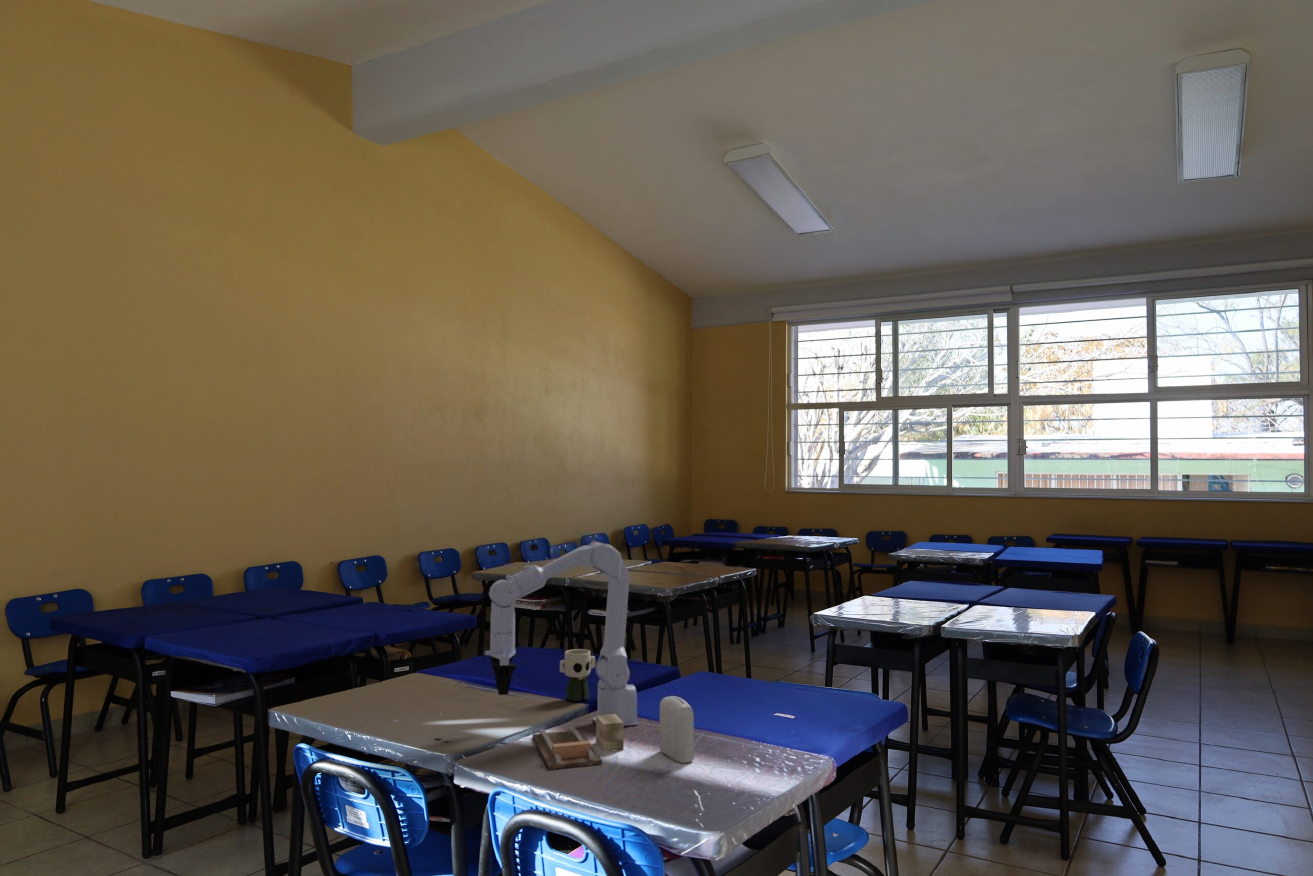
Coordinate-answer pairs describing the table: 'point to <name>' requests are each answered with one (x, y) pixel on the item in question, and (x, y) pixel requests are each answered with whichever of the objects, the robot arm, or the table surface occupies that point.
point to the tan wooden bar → (571, 749)
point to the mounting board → (565, 762)
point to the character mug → (577, 673)
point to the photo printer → (677, 729)
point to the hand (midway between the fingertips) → (502, 690)
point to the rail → (556, 755)
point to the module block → (610, 732)
